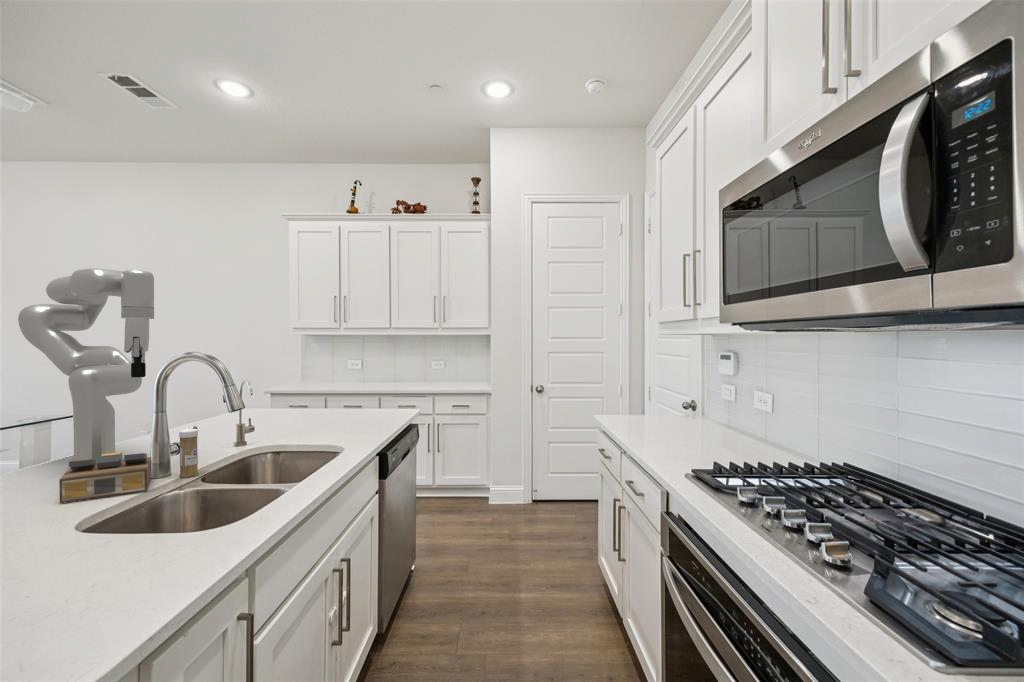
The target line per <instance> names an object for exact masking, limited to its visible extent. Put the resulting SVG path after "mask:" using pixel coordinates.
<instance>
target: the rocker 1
mask: <svg viewBox="0 0 1024 682" xmlns="http://www.w3.org/2000/svg"><path fill="white" fill-rule="evenodd" d="M94 464H96V459H95V458H94V459H85V460H76V461H74V460H72V461H71V460H70V461H69V462H68V468H70V467H71V470H73V469H82V468H91V467H94Z"/></svg>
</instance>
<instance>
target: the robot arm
mask: <svg viewBox="0 0 1024 682" xmlns="http://www.w3.org/2000/svg"><path fill="white" fill-rule="evenodd" d="M154 276H155V275H154V274H153V272H151V271H147V270H141V269H126V270H117V269H116V270H114V269H109V268H95V267H93V268H83V269H77V270H75V271H74V272H72V274H71V275H69V276H63V277H62V276H61V277H58V278H55V279H53V280H51V281H50V282H49V283H48V284H47V286H46V288H45V291H46V295H47V296H48V297H49V299H50V300H52V301H54V302H55V303H58V304H55V303H40V304H38V303H37V304H31V305H28V306H25V307H24V308H23V309H21V310H20V311H19V314H18V317H17V318H18V319H17V321H18V326H19V329H20V332H21V333H22V335H23V337H24V338H25V339H26V340H27V342H29V343H30V344H31V346H33V347H35V348H36V349H37V350H39V351H40V352H41V353H43V354H44V355H45V356H46V357H47V358H48V360H49V361H51V362H52V363H53V364H54V365H55V367H56V368H57V369H58V370H59V371H60V372H61V373H62V374H63V375H66V376H67V377H68V379H67V380H68V382H67V383H68V388H69V391H70V396H71V400H72V413H73V416H72V417H73V461H76V460H85V459H94V458H95V459H96V463H98V460H99V458H100V456H101V454H109V453H116V412H115V408H114V406H113V405H112V404H111V402H110V401H109V400H108V399H107V398H106V397H110V396H120V395H127V394H132V393H134V392H136V391H138V390H139V389H140V387H141V386H142V382H143V378H145V377H146V376H147V375H146V367H147V366H146V352H148V351H149V344H150V320H154V319H155V277H154ZM109 297H120V304H121V305H120V306H121V307H120V308H121V309H120V317H121V318H120V319H125V322H124V343H123V344H124V347H123V351H124V353H125V354H129V353H131V360H130V359H129V358H127V356H126V355H125V354H124V353H123V352H122V351H120V350H119V349H118V348H115V347H114V346H108V345H93V346H92V345H83V344H81V343H80V342H79V341H78V340H77V339H76V338H75V337H73V335H71V334H69V333H66V332H81V331H87V330H88V329H90V328H91V327H92V326H93V325H94V323H95V322H96V320H97V319H98V316H99V315H100V314H101V312H102V311H103V309H104V307H105V305H106V303H107V301H108V298H109ZM65 331H66V332H65ZM70 468H71V467H68V468H67V469H66V472H67V471H68V470H69V469H70Z"/></svg>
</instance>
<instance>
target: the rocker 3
mask: <svg viewBox="0 0 1024 682" xmlns="http://www.w3.org/2000/svg"><path fill="white" fill-rule="evenodd" d="M123 456H124V457H123V460H124V461H125V463H135V462H144V461H146V459H147V458H148V453H146V452H142V453H133V454H132V453H131V454H124V455H123Z"/></svg>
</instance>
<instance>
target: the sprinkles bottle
mask: <svg viewBox="0 0 1024 682" xmlns="http://www.w3.org/2000/svg"><path fill="white" fill-rule="evenodd" d="M178 433H179V434H178V436H179V467H180V468H179V477H181V478H190V477H195V476H198V474H199V472H198V463H199V456H198V454H199V453H198V436H199V430H198V429H197V428H185V429H182V430H179V431H178Z"/></svg>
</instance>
